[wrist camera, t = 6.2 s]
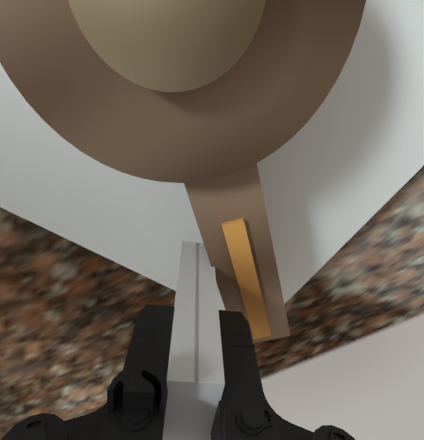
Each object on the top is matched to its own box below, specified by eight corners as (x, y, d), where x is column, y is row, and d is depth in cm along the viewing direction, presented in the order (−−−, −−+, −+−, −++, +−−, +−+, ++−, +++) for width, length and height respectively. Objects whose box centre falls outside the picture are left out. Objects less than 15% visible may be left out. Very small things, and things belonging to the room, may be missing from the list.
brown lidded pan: (-7, -105, 8) (-251, -321, 4) (292, -222, 8) (424, -666, 3) (176, 313, 16) (166, 403, 12) (334, 278, 15) (389, 361, 11)
